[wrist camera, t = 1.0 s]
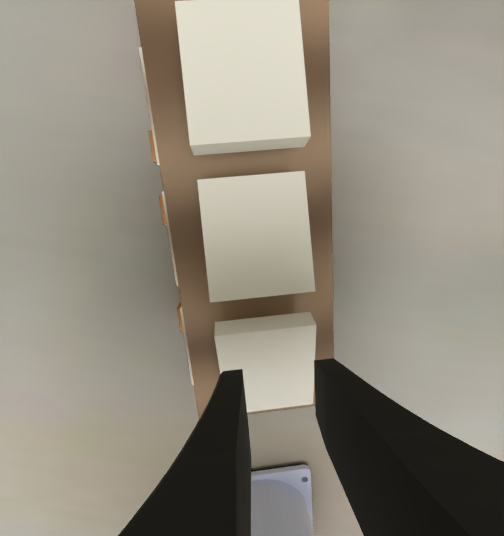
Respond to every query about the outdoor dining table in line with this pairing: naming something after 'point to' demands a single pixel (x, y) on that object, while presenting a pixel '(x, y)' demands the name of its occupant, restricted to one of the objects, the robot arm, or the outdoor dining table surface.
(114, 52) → the outdoor dining table surface
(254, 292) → the switch
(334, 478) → the outdoor dining table surface
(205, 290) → the switch unit
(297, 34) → the switch
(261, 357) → the switch
